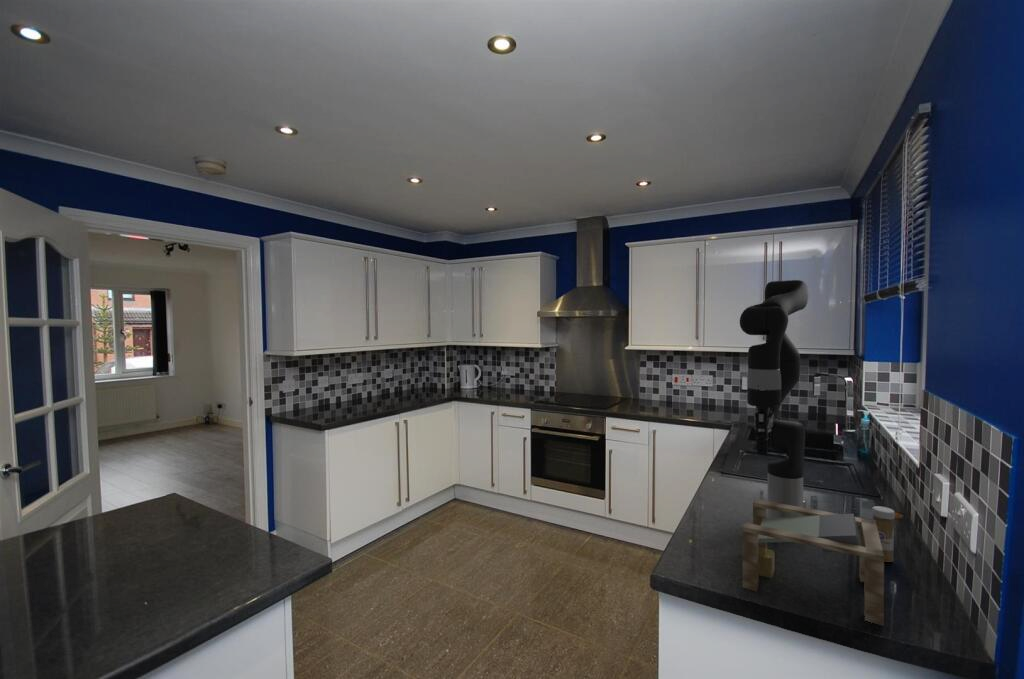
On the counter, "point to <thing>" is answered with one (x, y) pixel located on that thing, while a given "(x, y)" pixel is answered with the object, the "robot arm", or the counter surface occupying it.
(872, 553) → the trapdoor frame
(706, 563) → the counter surface
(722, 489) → the counter surface
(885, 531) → the sprinkles bottle
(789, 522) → the trapdoor
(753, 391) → the robot arm
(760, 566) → the block
